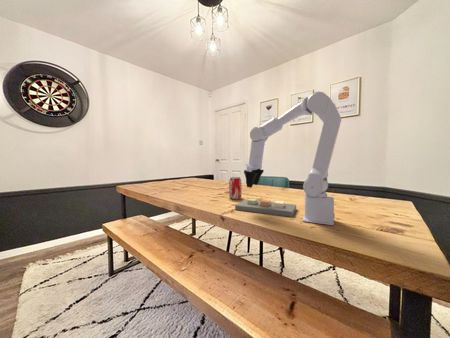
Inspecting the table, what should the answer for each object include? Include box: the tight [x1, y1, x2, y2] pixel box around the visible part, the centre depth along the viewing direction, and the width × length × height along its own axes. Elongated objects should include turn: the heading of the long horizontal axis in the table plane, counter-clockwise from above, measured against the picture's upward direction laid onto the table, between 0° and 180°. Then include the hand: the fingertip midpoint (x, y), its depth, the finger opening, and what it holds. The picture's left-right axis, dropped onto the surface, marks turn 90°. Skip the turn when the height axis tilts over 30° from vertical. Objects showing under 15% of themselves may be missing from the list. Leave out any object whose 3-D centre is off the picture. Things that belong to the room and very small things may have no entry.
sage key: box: [246, 198, 259, 205], centre depth 84 cm, size 4×4×2 cm
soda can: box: [228, 176, 243, 200], centre depth 105 cm, size 7×7×12 cm
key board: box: [234, 199, 297, 218], centre depth 81 cm, size 24×12×2 cm, turn 62°
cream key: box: [273, 200, 286, 208], centre depth 78 cm, size 4×4×2 cm
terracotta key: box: [259, 199, 271, 207], centre depth 81 cm, size 4×4×2 cm
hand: (252, 185), depth 83 cm, fingers open, 7 cm apart
